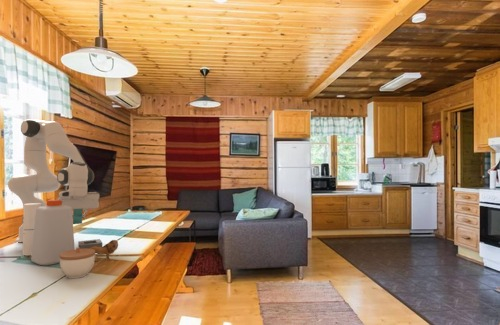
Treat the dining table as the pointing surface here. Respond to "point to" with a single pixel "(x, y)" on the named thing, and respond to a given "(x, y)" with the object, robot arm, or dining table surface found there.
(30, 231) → the cylindrical container
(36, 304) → the dining table surface
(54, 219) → the plastic bottle
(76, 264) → the lidded bowl
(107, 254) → the lion figurine
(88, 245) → the bore block
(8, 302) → the dining table surface
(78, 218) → the teal pin
